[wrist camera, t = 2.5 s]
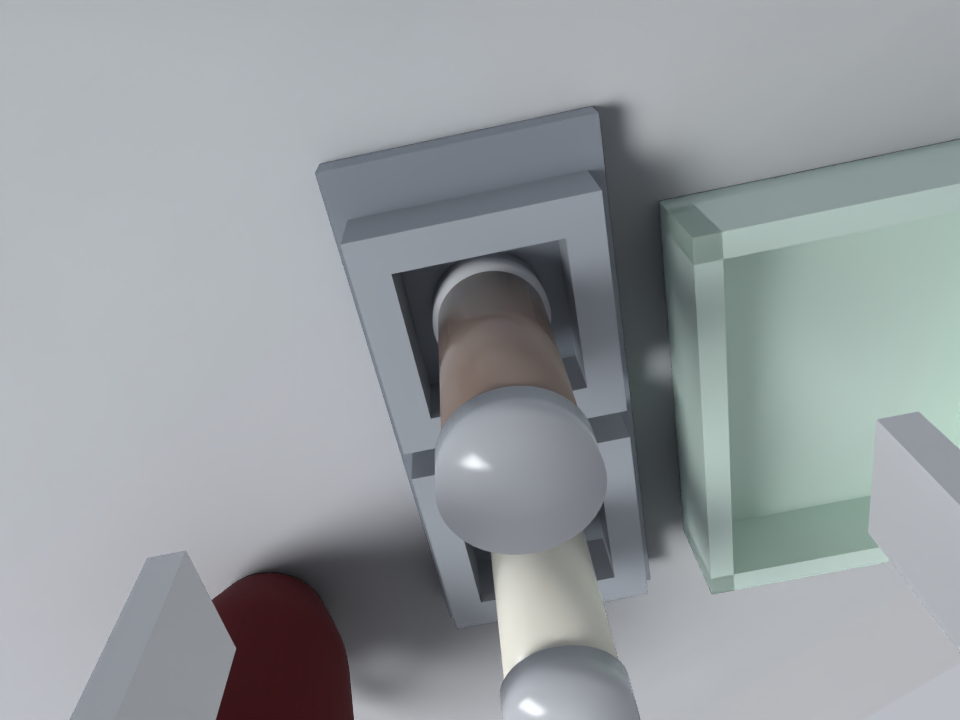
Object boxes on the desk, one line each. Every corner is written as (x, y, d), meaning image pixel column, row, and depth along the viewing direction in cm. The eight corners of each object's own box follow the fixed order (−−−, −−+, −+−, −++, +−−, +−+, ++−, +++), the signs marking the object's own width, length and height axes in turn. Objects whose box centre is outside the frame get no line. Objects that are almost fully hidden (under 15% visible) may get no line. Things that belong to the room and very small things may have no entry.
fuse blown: (420, 264, 22) (417, 437, 14) (536, 240, 22) (597, 402, 14) (445, 364, 24) (454, 568, 16) (552, 342, 24) (615, 537, 16)
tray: (658, 201, 23) (692, 238, 20) (1008, 129, 22) (1094, 155, 19) (683, 531, 29) (711, 594, 26) (953, 479, 29) (1012, 539, 26)
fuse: (472, 472, 26) (492, 700, 18) (571, 454, 26) (634, 674, 18) (491, 546, 28) (516, 782, 20) (583, 528, 28) (645, 759, 20)
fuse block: (319, 164, 21) (304, 193, 19) (591, 106, 21) (614, 128, 19) (449, 597, 30) (452, 658, 28) (644, 560, 30) (664, 619, 27)
